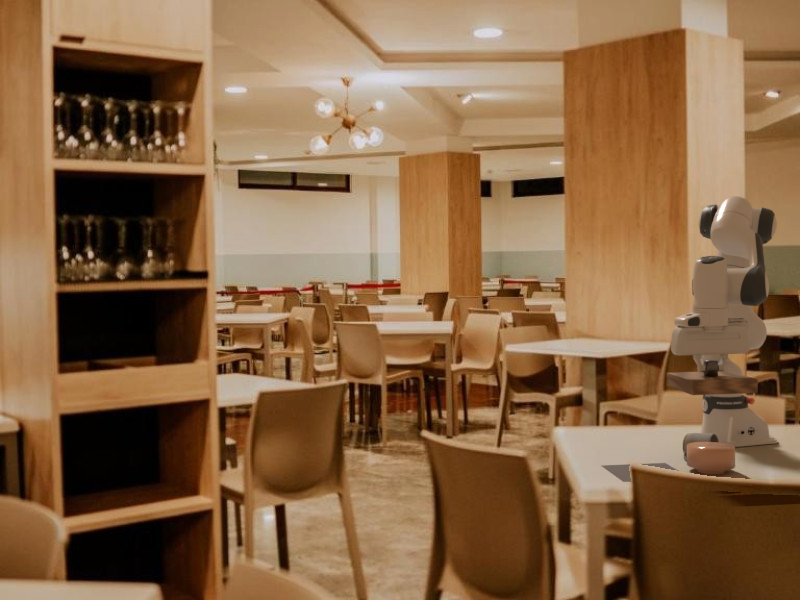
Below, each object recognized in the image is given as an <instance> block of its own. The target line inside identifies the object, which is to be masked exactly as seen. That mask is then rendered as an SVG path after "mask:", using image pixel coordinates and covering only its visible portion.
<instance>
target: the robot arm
mask: <svg viewBox="0 0 800 600" xmlns="http://www.w3.org/2000/svg"><path fill="white" fill-rule="evenodd" d="M697 225H698V229H699V234H700V235H701V236H702V237H703V238H705V239H709V240H711V243H712V245H713V246H714V247H715V249H716V250H717V252H716V255H707V256H701V257H699V258H697V259H695V261H694V262H695V263H694V266H693V267H694V268H693V275H692V276H693V277H692V281H691V286H692V287H691V290H692V293H691V294H692V295H693V296H694V297H693V298H694V300H693V305H692V311H690V312H687V313H685V314H682V315H679V316H677V317H675V318H674V321H673V322H674V325H675V327H674V328H673V329H672V332H671V339H670V350H671V353H672V354H673V355H674V356H692V358H693V361H694V362H695V364H696V366H697V367H696V369H697V371H696V372H705V371H706V370H705V368H706V366H705V365H703V360H718V372H723V371H730V372H733V373H737V374H741V375H744V374H743V370H742V369H741V368H742V367H740V366H739V365H738V364H737V363H736V362H734V361H732V360H731V359H730V358H729V355H738V354H739V355H740V354H741V355H742V354H743V355H744V354H748V353H749V352H750V350H758V349H760V348H761V347H762V346H763V345H764V343H765V341H766V339H767V333H768V332H767V326H766V324H765V322H764V320H763V319H762V318H760V317H759V316H758V315H757V313H756V312H755V310H754V308H753V307H758V306H759V305H761V304H762V303H764V302H765V301H766V300H767V299H768V296H769V293H770V284H769V283H770V282H769V278H768V275H767V273H766V262H765V261H766V260H765V252H764V245H765V244H767V243H768V242H770V241H771V240H772V238H773V237H774V235H775V233H776V231H777V226H778V222H777V218H776V215H775V212H774V211H773V210H772V209H770V208H766V207H756V206H752V203H750V201H749V200H748V199H746V198H745V197H742V196H730V197H727V198H726V199H724V200H723V201H722V202H721V204H720V205H718V204H709V205H706V206H705V207H704V208H703V209H702V210H701V213H700V215H699V217H698V223H697ZM755 401H756V400H755V398H754V397H751V396H748V397H747V396H746V395H744V393H742V394H713V395H702V413H703V414H702V424H701V430H700V433H714V434H716V435H717V437H718V440H719V443H725V444H730V445H733V446H734V447H735V448H740V447H749V446H759V445H774V444H777V443H778V439H777V437H775V436H774V435H771V434H770V430H769V425H768V423H767V421H766V420H765V419H764V418H763V417H762V416H760V415H759V414H758V413H756V412H755V411H754V410H752V409H751V408H750V407H749V404H750V405H754V404H755V403H756V402H755Z"/></svg>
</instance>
